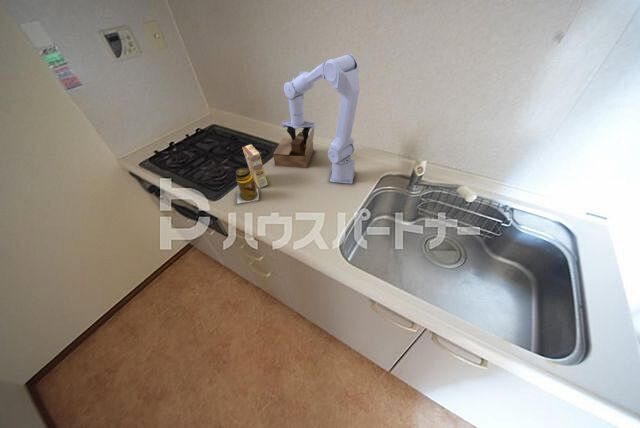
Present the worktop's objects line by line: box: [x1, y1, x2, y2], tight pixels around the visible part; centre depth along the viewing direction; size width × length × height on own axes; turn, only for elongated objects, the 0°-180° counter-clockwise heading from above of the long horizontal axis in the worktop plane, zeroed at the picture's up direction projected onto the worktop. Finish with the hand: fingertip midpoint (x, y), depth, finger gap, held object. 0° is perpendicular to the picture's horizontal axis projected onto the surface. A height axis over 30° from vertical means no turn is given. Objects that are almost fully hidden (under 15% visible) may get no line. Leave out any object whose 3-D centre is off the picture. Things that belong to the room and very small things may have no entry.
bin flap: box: [305, 128, 315, 156], centre depth 106 cm, size 7×15×1 cm
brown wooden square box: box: [272, 137, 314, 169], centre depth 113 cm, size 15×15×6 cm
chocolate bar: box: [291, 131, 310, 152], centre depth 108 cm, size 4×11×4 cm, turn 162°
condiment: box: [234, 167, 260, 204], centre depth 91 cm, size 7×8×12 cm
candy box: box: [242, 144, 269, 189], centre depth 97 cm, size 9×4×15 cm, turn 33°
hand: (300, 142), depth 108 cm, fingers closed on chocolate bar, 4 cm apart
